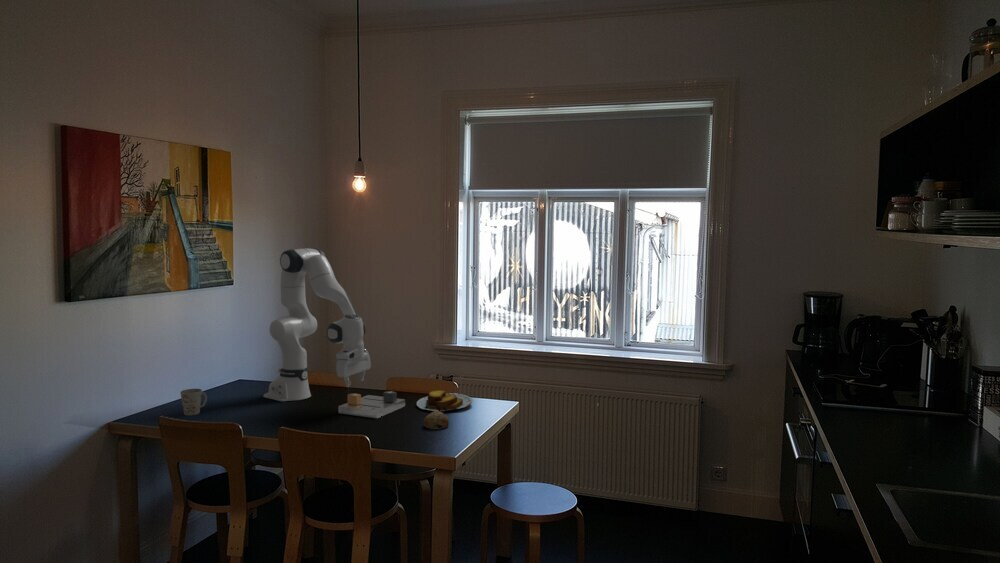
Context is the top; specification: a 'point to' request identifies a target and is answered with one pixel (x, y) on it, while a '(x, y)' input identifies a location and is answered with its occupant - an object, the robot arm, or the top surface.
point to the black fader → (390, 396)
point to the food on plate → (444, 401)
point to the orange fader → (354, 399)
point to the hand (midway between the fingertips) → (354, 383)
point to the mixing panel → (371, 407)
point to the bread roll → (436, 420)
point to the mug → (192, 401)
